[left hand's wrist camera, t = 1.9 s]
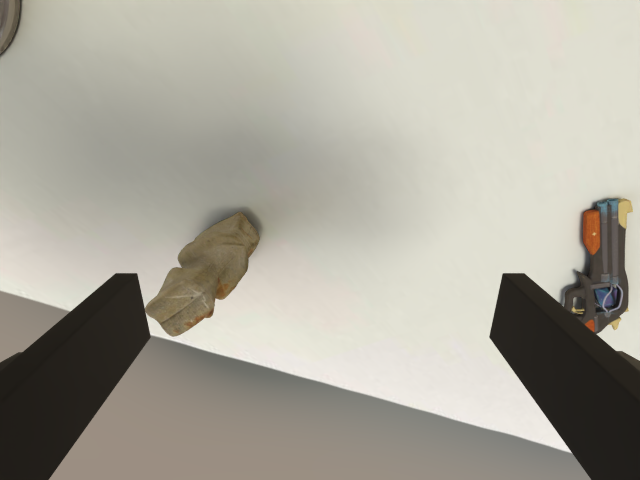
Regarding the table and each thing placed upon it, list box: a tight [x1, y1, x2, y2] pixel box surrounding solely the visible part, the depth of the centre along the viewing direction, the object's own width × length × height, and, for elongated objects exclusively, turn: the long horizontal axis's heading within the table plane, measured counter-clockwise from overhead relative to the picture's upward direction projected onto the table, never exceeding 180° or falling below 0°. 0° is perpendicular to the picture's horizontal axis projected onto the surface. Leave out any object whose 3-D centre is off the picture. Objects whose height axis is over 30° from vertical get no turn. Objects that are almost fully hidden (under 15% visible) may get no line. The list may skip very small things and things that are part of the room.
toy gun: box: [564, 199, 633, 334], centre depth 41 cm, size 3×19×10 cm
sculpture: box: [145, 212, 260, 337], centre depth 33 cm, size 6×7×15 cm
